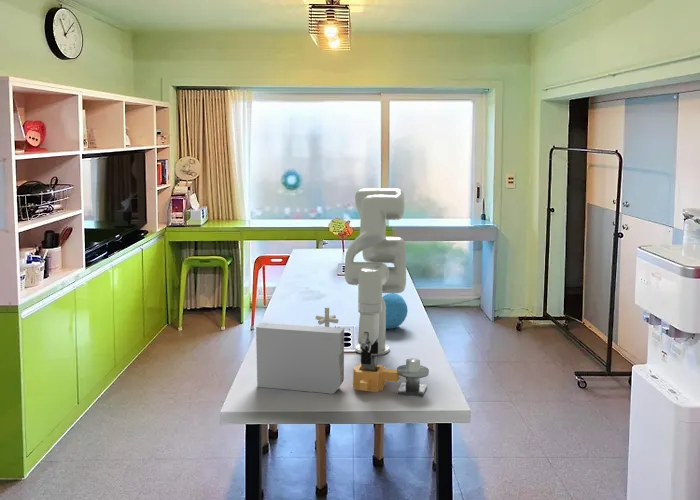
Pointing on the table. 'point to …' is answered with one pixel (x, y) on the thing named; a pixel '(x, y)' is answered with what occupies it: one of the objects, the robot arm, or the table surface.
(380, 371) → the bracket head
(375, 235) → the robot arm
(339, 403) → the table surface
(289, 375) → the game console
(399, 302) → the blue ball
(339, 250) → the table surface
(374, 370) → the rectangular block
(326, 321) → the pipe connector
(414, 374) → the grey disc with stub
